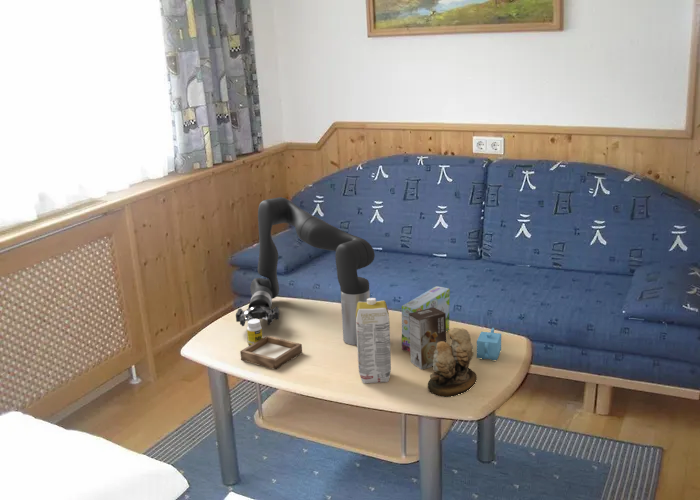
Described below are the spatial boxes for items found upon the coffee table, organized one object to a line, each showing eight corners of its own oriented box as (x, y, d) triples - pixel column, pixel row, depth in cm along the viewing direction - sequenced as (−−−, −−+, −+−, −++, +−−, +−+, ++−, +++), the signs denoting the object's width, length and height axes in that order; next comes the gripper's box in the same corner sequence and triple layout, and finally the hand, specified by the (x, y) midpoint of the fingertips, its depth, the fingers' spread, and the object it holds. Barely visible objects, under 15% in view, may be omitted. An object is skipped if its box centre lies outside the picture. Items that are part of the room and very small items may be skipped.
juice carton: (390, 370, 213) (387, 294, 206) (392, 383, 206) (389, 305, 198) (358, 372, 213) (354, 296, 206) (359, 385, 206) (355, 306, 198)
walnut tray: (302, 352, 228) (301, 344, 227) (276, 369, 218) (275, 360, 217) (267, 344, 235) (267, 335, 234) (241, 359, 225) (240, 351, 224)
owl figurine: (451, 366, 215) (451, 312, 209) (487, 376, 208) (488, 321, 202) (417, 390, 201) (417, 334, 196) (455, 402, 194) (455, 344, 189)
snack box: (416, 354, 223) (415, 309, 218) (401, 350, 226) (399, 305, 222) (450, 330, 239) (450, 287, 234) (436, 326, 242) (435, 284, 238)
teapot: (483, 346, 226) (483, 323, 224) (502, 348, 224) (503, 325, 222) (475, 362, 216) (475, 339, 213) (496, 365, 213) (496, 341, 211)
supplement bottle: (256, 349, 232) (254, 325, 229) (245, 346, 234) (243, 322, 232) (266, 343, 236) (264, 319, 233) (254, 341, 238) (252, 317, 236)
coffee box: (435, 354, 222) (434, 306, 217) (447, 362, 216) (446, 313, 212) (409, 362, 218) (408, 312, 213) (421, 370, 212) (420, 320, 208)
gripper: (239, 295, 252) (232, 313, 236) (280, 293, 252) (276, 310, 236) (241, 315, 254) (235, 334, 239) (281, 313, 254) (278, 332, 239)
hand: (255, 322), depth 237 cm, fingers open, 8 cm apart
